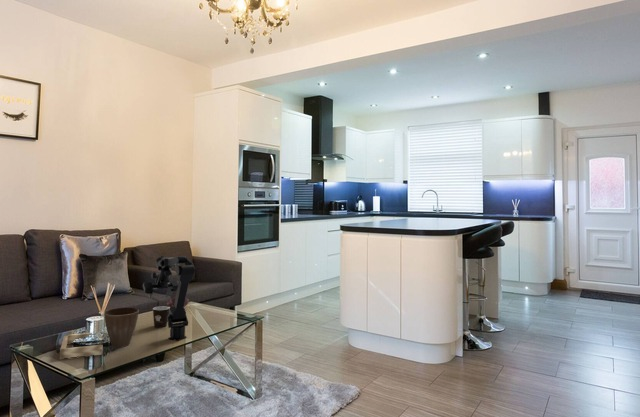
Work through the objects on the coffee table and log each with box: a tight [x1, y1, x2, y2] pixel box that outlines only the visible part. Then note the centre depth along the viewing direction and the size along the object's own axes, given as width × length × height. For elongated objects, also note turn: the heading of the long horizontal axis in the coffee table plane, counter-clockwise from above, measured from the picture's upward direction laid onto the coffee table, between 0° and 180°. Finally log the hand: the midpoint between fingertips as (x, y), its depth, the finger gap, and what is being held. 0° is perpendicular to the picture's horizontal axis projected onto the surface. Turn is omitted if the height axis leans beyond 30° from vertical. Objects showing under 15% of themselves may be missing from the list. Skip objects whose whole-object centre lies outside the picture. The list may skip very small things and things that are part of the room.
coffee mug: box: [152, 305, 170, 329], centre depth 223 cm, size 12×9×10 cm
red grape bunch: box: [166, 295, 190, 308], centre depth 260 cm, size 18×10×10 cm, turn 154°
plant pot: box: [103, 307, 140, 348], centre depth 192 cm, size 15×15×16 cm
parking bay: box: [59, 331, 104, 360], centre depth 185 cm, size 16×22×4 cm
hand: (158, 297), depth 228 cm, fingers open, 9 cm apart
